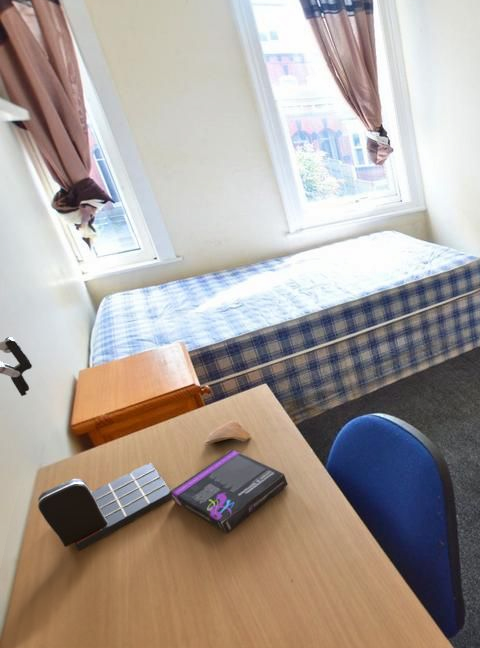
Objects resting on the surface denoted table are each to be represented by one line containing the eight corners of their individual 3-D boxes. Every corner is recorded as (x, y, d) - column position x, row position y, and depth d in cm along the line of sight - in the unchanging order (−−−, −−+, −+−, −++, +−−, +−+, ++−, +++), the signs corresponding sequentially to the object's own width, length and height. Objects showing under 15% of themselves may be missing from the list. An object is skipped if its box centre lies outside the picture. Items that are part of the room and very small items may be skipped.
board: (79, 550, 89) (75, 544, 88) (65, 512, 99) (61, 506, 98) (174, 497, 100) (171, 491, 99) (153, 467, 109) (150, 461, 109)
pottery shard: (251, 440, 115) (248, 432, 114) (209, 456, 111) (205, 448, 110) (248, 420, 124) (245, 412, 123) (208, 434, 119) (204, 426, 118)
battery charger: (107, 515, 94) (81, 471, 90) (110, 525, 92) (83, 480, 87) (62, 538, 90) (32, 493, 85) (64, 549, 87) (33, 503, 83)
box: (174, 503, 98) (226, 535, 89) (167, 491, 97) (219, 522, 87) (237, 460, 109) (289, 484, 99) (232, 448, 108) (284, 472, 98)
